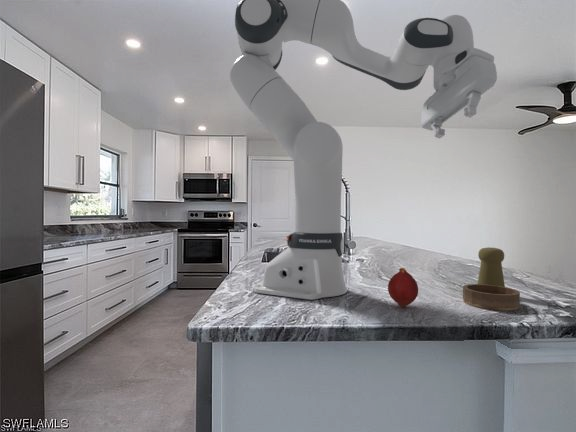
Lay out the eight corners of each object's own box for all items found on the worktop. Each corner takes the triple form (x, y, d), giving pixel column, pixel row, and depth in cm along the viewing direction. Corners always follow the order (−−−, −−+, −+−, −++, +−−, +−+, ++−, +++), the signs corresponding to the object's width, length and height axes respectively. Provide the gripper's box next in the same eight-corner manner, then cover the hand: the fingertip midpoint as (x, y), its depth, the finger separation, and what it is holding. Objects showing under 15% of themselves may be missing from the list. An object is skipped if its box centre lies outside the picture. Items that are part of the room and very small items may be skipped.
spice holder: (470, 308, 65) (470, 293, 65) (458, 296, 74) (458, 282, 74) (528, 312, 62) (528, 296, 62) (508, 299, 72) (508, 285, 72)
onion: (393, 301, 70) (393, 264, 70) (421, 306, 66) (421, 267, 66) (383, 307, 65) (384, 267, 65) (413, 313, 62) (414, 271, 62)
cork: (511, 298, 73) (511, 249, 73) (481, 296, 74) (482, 248, 74) (499, 292, 79) (499, 246, 79) (472, 290, 80) (472, 246, 80)
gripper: (414, 98, 87) (413, 143, 83) (476, 41, 68) (478, 96, 64) (435, 105, 88) (434, 150, 84) (500, 50, 69) (504, 105, 65)
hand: (454, 126), depth 74 cm, fingers open, 8 cm apart
